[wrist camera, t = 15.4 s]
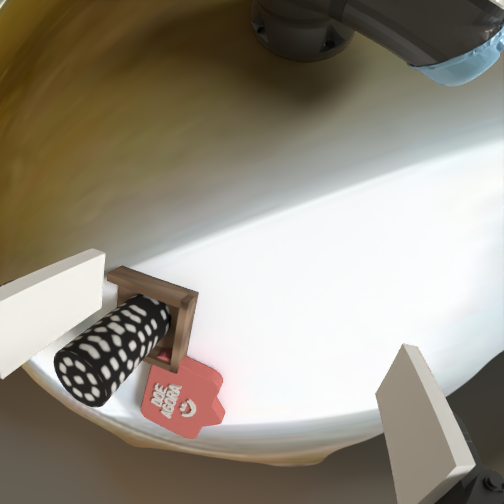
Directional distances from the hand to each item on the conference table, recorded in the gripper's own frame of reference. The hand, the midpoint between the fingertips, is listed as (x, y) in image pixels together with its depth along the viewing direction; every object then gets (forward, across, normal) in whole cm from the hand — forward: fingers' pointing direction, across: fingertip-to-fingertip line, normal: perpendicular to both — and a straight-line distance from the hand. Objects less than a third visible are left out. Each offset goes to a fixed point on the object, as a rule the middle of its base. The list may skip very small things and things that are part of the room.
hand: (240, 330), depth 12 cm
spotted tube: (+31, -18, -21) cm, 42 cm away
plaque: (+31, -8, -35) cm, 48 cm away
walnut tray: (+32, -17, -21) cm, 42 cm away
